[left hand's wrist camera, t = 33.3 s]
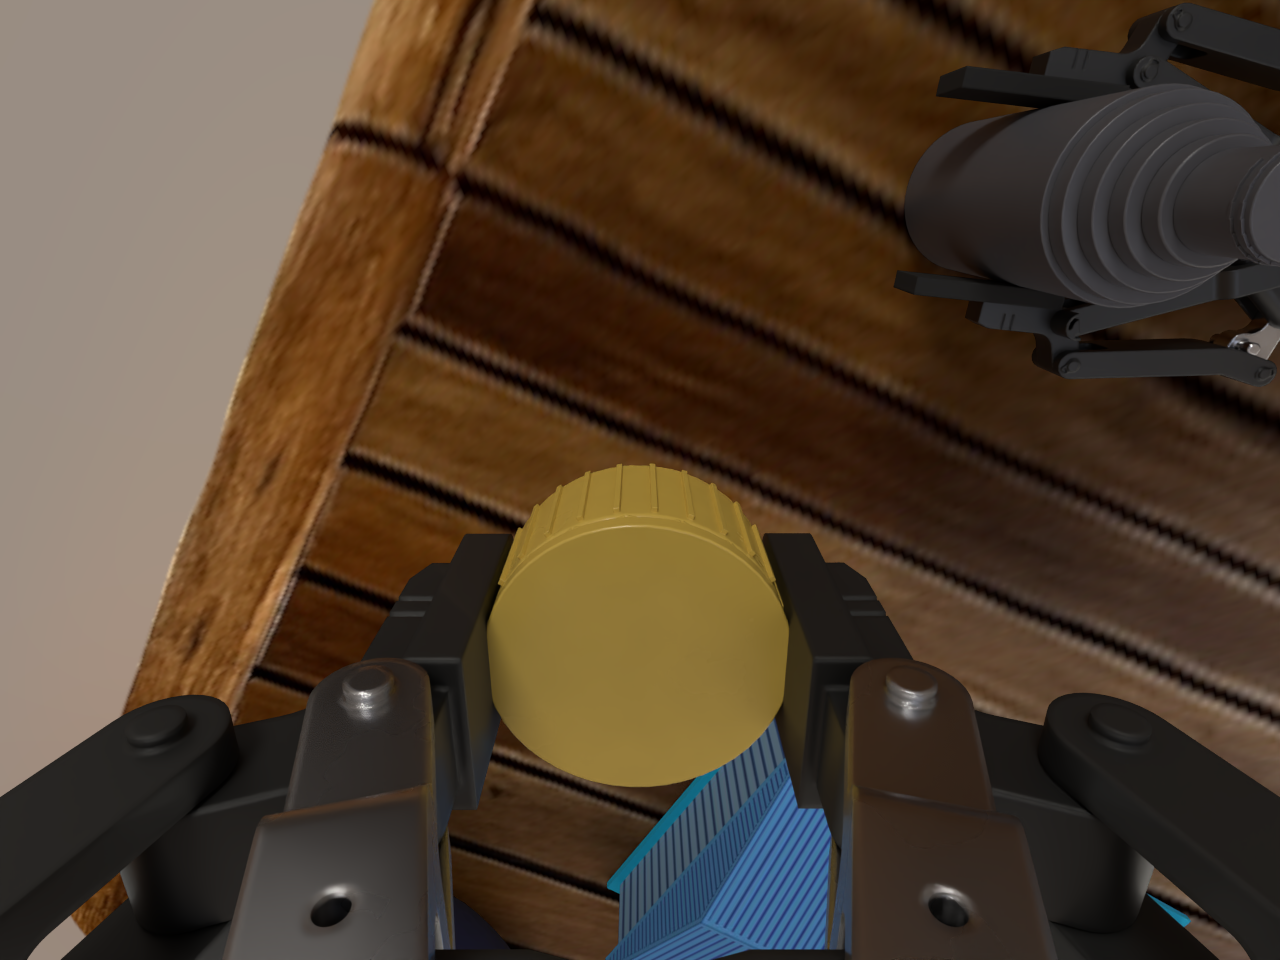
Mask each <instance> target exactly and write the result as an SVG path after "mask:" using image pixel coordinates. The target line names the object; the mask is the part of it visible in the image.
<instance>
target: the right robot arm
mask: <svg viewBox="0 0 1280 960" xmlns="http://www.w3.org/2000/svg"><path fill="white" fill-rule="evenodd" d="M1168 59H1169V60H1172V61H1176V62H1179V63H1183V64H1186V65H1190V66H1193V67H1197V68H1200V69H1204V70H1207V71H1210V72H1214V73H1217V74H1221V75H1224V76H1228V77H1231V78H1235V79H1238V80H1242V81H1245V82H1249V83H1252V84H1255V85H1259V86H1262V87H1266V88H1269V89H1273V90H1277V91H1280V30H1279V29H1276V28H1273V27H1269V26H1266V25H1263V24H1259V23H1256V22H1252V21H1249V20H1246V19H1242V18H1239V17H1236V16H1232V15H1229V14H1225V13H1222V12H1219V11H1215V10H1212V9H1209V8H1205V7H1202V6H1199V5H1195V4H1192V3H1182V4H1179V5H1177V6H1173V7H1170V8H1168V9H1165V10H1162V11H1159V12H1156V13H1153V14H1150V15H1148V16H1145V17H1143V18H1140V19H1138V20H1137V21H1135V22H1134V23H1133V24H1132V26H1131V28H1130V29H1129V33H1128V41H1127V43H1126V45H1125V46H1124V48H1123V49H1122V50H1121V52H1120V53H1112V52H1104V51H1096V50H1088V49H1078V48H1071V47H1062V48H1059V49H1056V50H1053V51H1050V52H1047V53H1044V54H1041V55H1038V56H1035V57H1033V60H1032V64H1031V67H1030V71H1029V73H1021V72H1013V71H1005V70H996V69H988V68H979V67H971V66H966V67H963V68H960V69H958V70H955V71H953V72H950V73H948V74H945V75H943V76H940V80H939V85H938V89H937V94H936V96H939V97H947V98H956V99H964V100H973V101H981V102H990V103H998V104H1007V105H1015V106H1024V107H1032V108H1044V107H1049V106H1054V105H1059V104H1064V103H1069V102H1074V101H1079V100H1084V99H1088V98H1093V97H1098V96H1103V95H1108V94H1113V93H1118V92H1123V91H1128V90H1133V89H1138V88H1143V87H1148V86H1153V85H1158V84H1172V83H1177V84H1187V85H1192V86H1196V87H1199V88H1203V89H1205V90H1209V89H1207V88H1206V87H1204V86H1203V85H1201V84H1200V83H1198V82H1197V81H1195V80H1194V79H1192V78H1191V77H1190V76H1188V75H1187V74H1185V73H1184V72H1182V71H1181V70H1179V69H1178V68H1176V67H1175V66H1173V65H1172V64H1170V63H1169V62H1167V60H1168ZM1209 91H1210V90H1209ZM1253 120H1254V119H1253ZM1254 122H1255V123H1256V124H1257V125H1258V126H1259V128H1260V129H1261V130H1262V132H1263V133H1264V134H1265V135H1266V136H1267V137H1268V139H1269V140H1270V142H1271V143H1272V145H1280V136H1278V135H1276V134H1274V133H1273V132H1271V131H1270V130H1268V129H1267V128H1265V127H1264V126H1262V125H1261V124H1259V123H1258V122H1256V121H1255V120H1254ZM894 287H895V288H897V289H900V290H903V291H906V292H908V293H911V294H914V295H923V296H932V297H941V298H951V299H960V300H970V301H969V304H968V308H967V312H966V316H965V318H967V319H968V320H970V321H972V322H974V323H976V324H978V325H981V326H984V327H986V328H991V329H1001V330H1010V331H1020V332H1029V333H1033V334H1034V336H1035V339H1036V348H1035V349H1034V351H1033V353H1032V361H1033V363H1034V364H1035V365H1036V366H1038V367H1040V368H1042V369H1045V370H1047V371H1049V372H1052V373H1054V374H1056V375H1058V376H1061V377H1063V378H1067V379H1087V378H1123V377H1159V376H1194V375H1221V376H1224V377H1227V378H1230V379H1234V380H1237V381H1240V382H1243V383H1246V384H1250V385H1253V386H1257V387H1261V386H1265V385H1267V384H1268V383H1270V382H1271V381H1272V380H1273V379H1274V377H1275V375H1276V372H1277V367H1276V365H1275V364H1274V363H1273V362H1271V361H1269V360H1267V359H1268V357H1269V356H1270V354H1271V353H1272V351H1273V350H1274V348H1275V346H1276V345H1277V343H1278V342H1279V340H1280V267H1278V266H1269V265H1263V264H1257V263H1254V262H1252V261H1250V260H1246V259H1238V260H1236V261H1235V262H1234V263H1232V264H1231V265H1229V266H1228V267H1226V268H1224V269H1223V270H1221V271H1220V272H1219V273H1217V274H1216V275H1214V276H1213V277H1211V278H1209V279H1208V280H1207V281H1205V282H1204V283H1202V284H1201V285H1199V286H1198V287H1196V288H1194V289H1192V290H1191V291H1189V292H1187V293H1184V294H1182V295H1180V296H1178V297H1175V298H1172V299H1169V300H1166V301H1162V302H1157V303H1152V304H1147V305H1142V306H1137V307H1130V308H1112V307H1104V306H1100V305H1096V304H1092V303H1087V302H1083V301H1079V300H1075V299H1071V298H1067V297H1062V296H1058V295H1054V294H1050V293H1046V292H1042V291H1037V290H1033V289H1029V288H1025V287H1021V286H1017V285H1012V284H1008V283H1004V282H1000V281H991V280H982V279H972V278H963V277H954V276H944V275H935V274H926V273H916V272H907V271H898V270H897V274H896V279H895V283H894ZM1221 299H1235V301H1236V302H1237V303H1238V304H1239V305H1240V307H1241V308H1242V309H1243V310H1244V312H1245V313H1246V314H1247V315H1248V317H1249V318H1250V319H1251V320H1252V321H1251V322H1250V323H1249V325H1247V326H1246V327H1245V328H1243V329H1240V330H1227V331H1224V332H1222V333H1221V334H1215V335H1213V336H1212V337H1211V338H1210V341H1209V342H1206V341H1202V340H1196V339H1184V338H1180V339H1144V340H1109V341H1081V338H1079V335H1082V334H1086V333H1090V332H1094V331H1098V330H1102V329H1106V328H1109V327H1113V326H1117V325H1121V324H1125V323H1129V322H1132V321H1136V320H1140V319H1144V318H1148V317H1152V316H1155V315H1159V314H1163V313H1167V312H1171V311H1175V310H1178V309H1182V308H1186V307H1190V306H1194V305H1198V304H1201V303H1205V302H1209V301H1213V300H1221Z"/></svg>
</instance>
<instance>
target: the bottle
mask: <svg viewBox="0 0 1280 960" xmlns="http://www.w3.org/2000/svg"><path fill="white" fill-rule="evenodd" d="M905 219H906V225H907V228H908V232H909V235H910V237H911V239H912V241H913V243H914V244H915V246H916V247H917V249H918V250H919V251H920V252H921V253H922V254H923V255H924V256H925V257H926V258H927V259H928V260H930V261H931V262H933V263H935V264H936V265H938V266H941V267H943V268H946V269H950V270H954V271H958V272H962V273H967V274H971V275H975V276H979V277H983V278H987V279H992V280H996V281H1000V282H1004V283H1008V284H1012V285H1017V286H1021V287H1025V288H1029V289H1033V290H1037V291H1042V292H1046V293H1050V294H1054V295H1058V296H1062V297H1067V298H1071V299H1075V300H1079V301H1083V302H1087V303H1092V304H1096V305H1100V306H1104V307H1112V308H1130V307H1137V306H1142V305H1147V304H1152V303H1157V302H1162V301H1166V300H1169V299H1172V298H1175V297H1178V296H1180V295H1182V294H1184V293H1187V292H1189V291H1191V290H1192V289H1194V288H1196V287H1198V286H1199V285H1201V284H1202V283H1204V282H1205V281H1207V280H1208V279H1209V278H1211V277H1213V276H1214V275H1216V274H1217V273H1219V272H1220V271H1221V270H1223V269H1224V268H1226V267H1228V266H1229V265H1231V264H1232V263H1234V262H1235V261H1236V260H1238V259H1246V260H1250V261H1252V262H1254V263H1257V264H1263V265H1269V266H1278V267H1280V145H1272V143H1271V142H1270V140H1269V139H1268V137H1267V136H1266V135H1265V134H1264V133H1263V132H1262V130H1261V129H1260V128H1259V126H1258V125H1257V124H1256V123H1255V122H1254V120H1253V119H1252V117H1251V116H1250V115H1249V114H1248V113H1247V112H1246V111H1245V110H1244V109H1243V108H1242V107H1241V106H1240V105H1239V104H1237V103H1236V102H1235V101H1233V100H1232V99H1230V98H1228V97H1226V96H1224V95H1222V94H1220V93H1217V92H1213V91H1209V90H1205V89H1203V88H1199V87H1196V86H1192V85H1187V84H1177V83H1172V84H1158V85H1153V86H1148V87H1143V88H1138V89H1133V90H1128V91H1123V92H1118V93H1113V94H1108V95H1103V96H1098V97H1093V98H1088V99H1084V100H1079V101H1074V102H1069V103H1064V104H1059V105H1054V106H1049V107H1044V108H1039V109H1034V110H1029V111H1024V112H1019V113H1014V114H1009V115H1004V116H999V117H994V118H989V119H985V120H980V121H975V122H970V123H967V124H964V125H961V126H958V127H956V128H954V129H952V130H950V131H949V132H947V133H946V134H944V135H943V136H941V137H940V138H939V139H938V140H936V141H935V142H934V143H933V144H932V145H931V146H930V147H929V148H928V149H927V150H926V152H925V153H924V154H923V156H922V157H921V158H920V160H919V162H918V163H917V165H916V167H915V168H914V171H913V173H912V175H911V177H910V180H909V183H908V186H907V191H906V196H905Z"/></svg>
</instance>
